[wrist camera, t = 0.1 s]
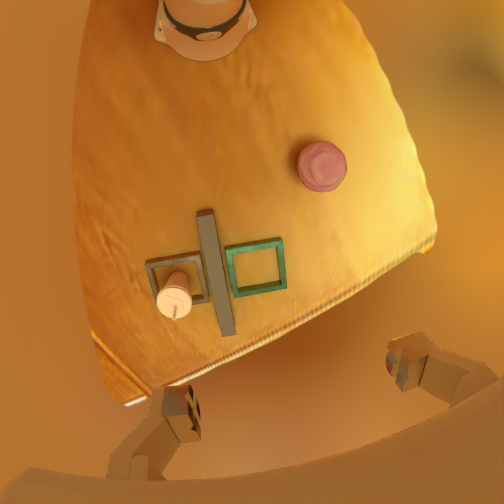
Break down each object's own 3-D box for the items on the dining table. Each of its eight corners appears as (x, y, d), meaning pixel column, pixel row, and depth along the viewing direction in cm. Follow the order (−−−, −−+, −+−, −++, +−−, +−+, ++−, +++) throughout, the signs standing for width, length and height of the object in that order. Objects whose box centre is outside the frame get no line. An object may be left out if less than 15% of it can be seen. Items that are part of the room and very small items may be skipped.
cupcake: (283, 146, 54) (297, 149, 45) (325, 135, 54) (347, 136, 45) (295, 191, 58) (311, 202, 48) (336, 179, 58) (358, 188, 48)
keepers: (146, 260, 59) (144, 264, 57) (280, 237, 61) (282, 240, 59) (159, 305, 63) (158, 310, 61) (285, 283, 65) (287, 288, 63)
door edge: (197, 211, 57) (196, 217, 53) (213, 209, 57) (213, 214, 53) (221, 326, 66) (222, 337, 63) (234, 324, 67) (236, 334, 63)
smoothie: (178, 298, 63) (172, 339, 50) (156, 278, 60) (144, 315, 47) (200, 280, 62) (198, 318, 49) (178, 258, 59) (170, 292, 47)
